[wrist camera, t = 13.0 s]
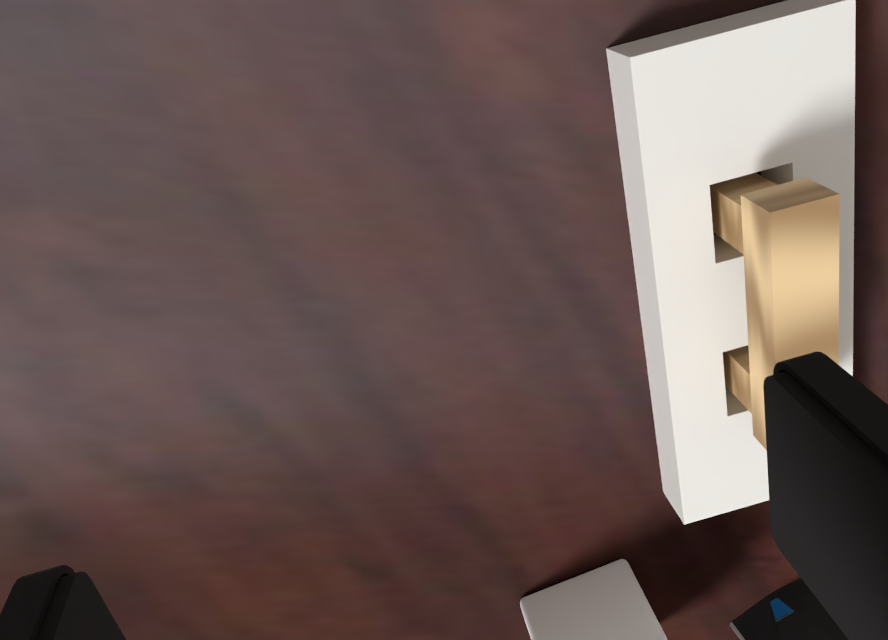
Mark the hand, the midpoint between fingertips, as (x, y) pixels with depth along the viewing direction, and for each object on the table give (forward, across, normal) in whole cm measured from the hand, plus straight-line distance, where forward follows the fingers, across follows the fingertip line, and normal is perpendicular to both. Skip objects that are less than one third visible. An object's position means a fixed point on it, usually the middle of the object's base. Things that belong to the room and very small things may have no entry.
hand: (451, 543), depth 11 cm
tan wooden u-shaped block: (+28, -17, +13) cm, 35 cm away
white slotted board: (+28, -17, +13) cm, 35 cm away
